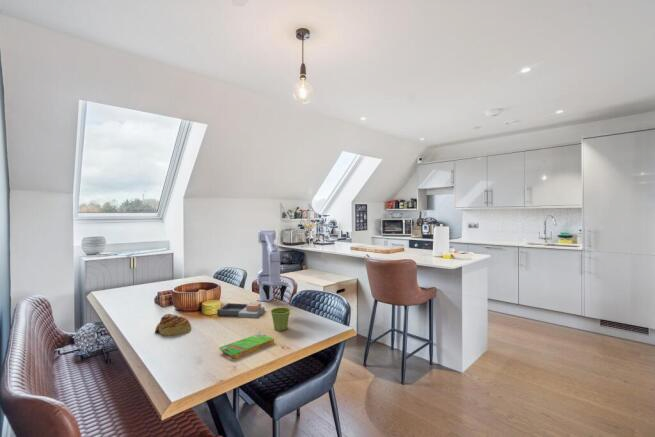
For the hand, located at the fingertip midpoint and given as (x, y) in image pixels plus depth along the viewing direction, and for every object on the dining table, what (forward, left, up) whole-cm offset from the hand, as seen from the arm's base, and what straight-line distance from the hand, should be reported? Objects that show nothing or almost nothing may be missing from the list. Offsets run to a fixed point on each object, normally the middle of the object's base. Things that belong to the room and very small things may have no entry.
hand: (274, 299), depth 170 cm
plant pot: (+20, +9, -8) cm, 23 cm away
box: (+1, -23, -8) cm, 25 cm away
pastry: (+30, -39, -8) cm, 50 cm away
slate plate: (+1, -13, -8) cm, 15 cm away
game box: (+42, +2, -8) cm, 43 cm away
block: (0, -12, -6) cm, 13 cm away
